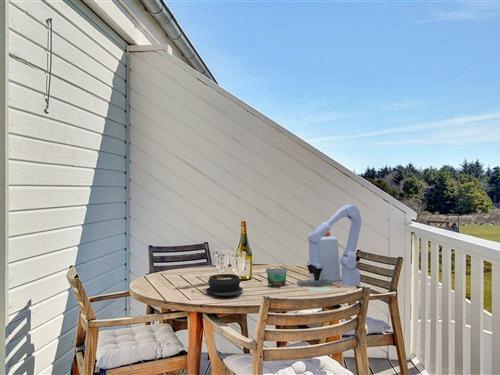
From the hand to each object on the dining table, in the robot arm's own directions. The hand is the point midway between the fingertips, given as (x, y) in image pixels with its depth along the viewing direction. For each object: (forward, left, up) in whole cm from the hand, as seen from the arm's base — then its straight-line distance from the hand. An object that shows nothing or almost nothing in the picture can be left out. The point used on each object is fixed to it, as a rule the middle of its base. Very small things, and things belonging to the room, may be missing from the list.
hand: (314, 279), depth 213 cm
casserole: (+50, +9, -4) cm, 51 cm away
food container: (+20, -1, -4) cm, 20 cm away
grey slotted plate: (0, 0, -3) cm, 3 cm away
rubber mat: (0, +10, -3) cm, 11 cm away
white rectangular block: (0, 0, -3) cm, 3 cm away
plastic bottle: (-11, -14, -4) cm, 18 cm away
